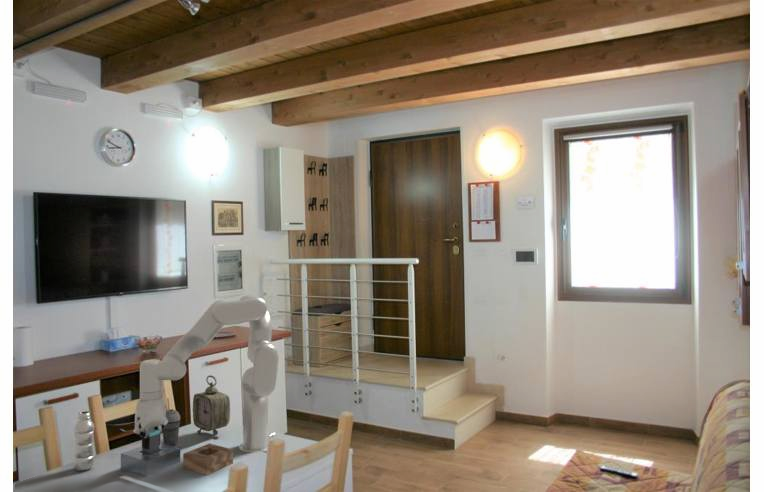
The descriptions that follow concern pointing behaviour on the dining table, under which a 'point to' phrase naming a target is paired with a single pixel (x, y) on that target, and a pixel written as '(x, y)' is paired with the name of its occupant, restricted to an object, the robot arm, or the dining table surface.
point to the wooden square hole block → (208, 459)
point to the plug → (152, 442)
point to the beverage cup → (171, 427)
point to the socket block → (149, 460)
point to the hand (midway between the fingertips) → (151, 445)
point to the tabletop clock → (211, 409)
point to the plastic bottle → (84, 442)
